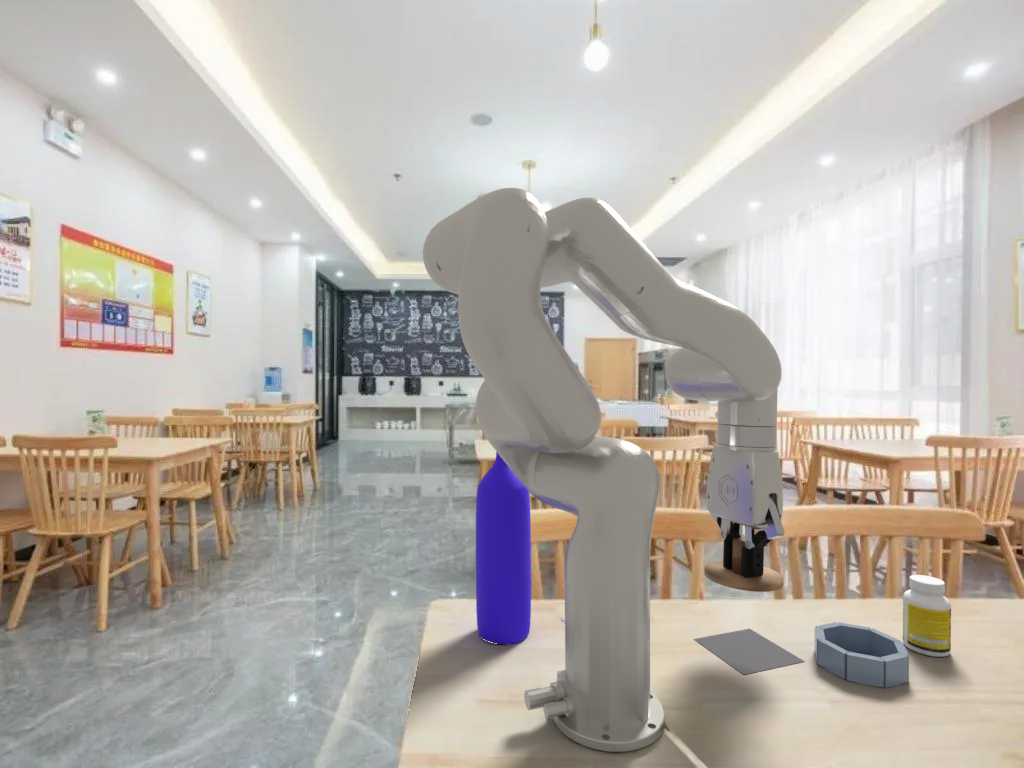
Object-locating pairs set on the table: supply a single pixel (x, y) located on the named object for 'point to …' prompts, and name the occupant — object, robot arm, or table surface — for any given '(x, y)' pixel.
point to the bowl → (861, 654)
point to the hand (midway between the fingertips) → (742, 570)
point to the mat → (748, 651)
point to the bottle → (503, 556)
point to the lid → (736, 580)
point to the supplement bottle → (927, 617)
